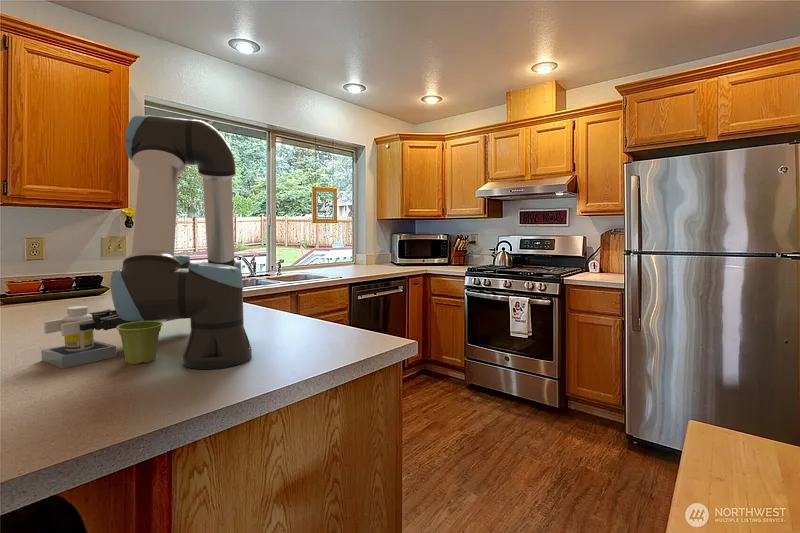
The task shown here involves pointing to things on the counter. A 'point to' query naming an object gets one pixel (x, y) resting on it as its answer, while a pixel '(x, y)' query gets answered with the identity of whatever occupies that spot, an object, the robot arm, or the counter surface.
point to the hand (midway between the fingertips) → (53, 329)
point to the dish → (78, 355)
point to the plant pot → (140, 340)
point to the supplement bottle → (81, 339)
